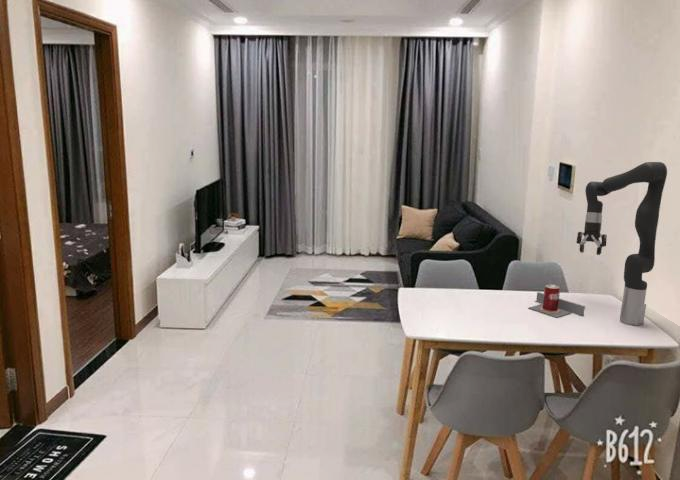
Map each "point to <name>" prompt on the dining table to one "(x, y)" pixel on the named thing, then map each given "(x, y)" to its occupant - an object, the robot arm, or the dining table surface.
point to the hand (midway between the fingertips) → (589, 253)
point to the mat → (554, 314)
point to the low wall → (565, 305)
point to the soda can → (551, 298)
